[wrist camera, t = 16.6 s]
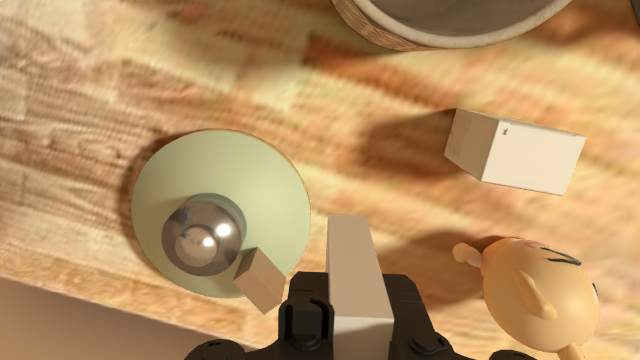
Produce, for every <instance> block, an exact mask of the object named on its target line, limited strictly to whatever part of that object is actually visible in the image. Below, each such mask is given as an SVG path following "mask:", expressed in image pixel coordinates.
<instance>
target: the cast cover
mask: <svg viewBox="0 0 640 360" xmlns="http://www.w3.org/2000/svg"><path fill="white" fill-rule="evenodd" d="M246 233H247V223H246V219H245V216H244V214H243V212H242V211H241V209H240V208H239V207H238V205H237V204H236V203H234V202H233V201H232V200H231V199H229V198H227V197H225V196H223V195H220V194H216V193H200V194H197V195H194V196H192V197H190V198H189V199H187V200H186V201H185V202H184V203H183V204H182V205H181V206H180V207H179V208H178V209H177V210H176V211H174V212H173V213H172V214H171V215H170V216H169V218H168V219H167V220H166V222H165V224H164V226H163V229H162V234H161V242H162V247H163V250H164V252H165V254H166V256H167V257H168V259H169V260H170V261H171V262H172V263H173V264H174V265H175V266H176V267H177V268H178V269H180V270H182V271H183V272H186V273H188V274H191V275H194V276H201V277H207V276H213V275H217V274H219V273H222V272H223V271H225V270H226V269H228V268H229V267H230V266H231V265H232V264H233V262H234V261H235V259H236V257H237V255H238V253H239V251H240V249H241V247H242V244H243V242H244V240H245V237H246Z"/></svg>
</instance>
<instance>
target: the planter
mask: <svg viewBox="0 0 640 360" xmlns="http://www.w3.org/2000/svg"><path fill="white" fill-rule="evenodd" d="M571 1H572V0H331V2H332V4H333V6H334V8H335V9H336V11H337V12H338V14H339V15H340V16H341V18H342V19H343V20H344V21H345V22H346V23H347V24H348V25H349V26H350V27H351V28H352V29H353V30H354V31H355V32H357V33H358V34H359V35H361V36H362V37H363V38H365V39H367V40H369V41H370V42H373V43H375V44H377V45H379V46H382V47H385V48H389V49H393V50H399V51H428V50H448V49H467V48H477V47H483V46H488V45H493V44H496V43H500V42H503V41H506V40H509V39H511V38H514V37H517V36H519V35H521V34H523V33H525V32H527V31H529V30H531V29H533V28H535V27H537V26H538V25H540V24H542V23H543V22H545V21H546V20H548V19H549V18H551V17H552V16H553V15H555V14H556V13H557V12H559V11H560V10H561V9H563V8H564V7H565V6H566V5H567V4H568V3H569V2H571Z"/></svg>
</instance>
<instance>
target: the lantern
mask: <svg viewBox="0 0 640 360" xmlns="http://www.w3.org/2000/svg"><path fill="white" fill-rule="evenodd" d="M631 2H632V5H633V8H634V11H635V14H636V17H637V20H638V22H639V25H640V0H631Z"/></svg>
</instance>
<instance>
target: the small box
mask: <svg viewBox="0 0 640 360" xmlns="http://www.w3.org/2000/svg"><path fill="white" fill-rule="evenodd" d="M585 140H586V136H583V135H579V134H575V133H571V132H567V131H564V130H560V129H556V128H552V127H548V126H544V125H540V124H536V123H532V122H528V121H524V120H518V119H513V118H508V117H502V116H497V115H491V114H486V113H481V112H476V111H470V110H465V109H460V108H457V109H456V113H455V117H454V120H453V124H452V127H451V131H450V134H449V138H448V141H447V145H446V148H445V152H444V156H445V157H446V158H448V159H449V160H450V161H452V162H453V163H455V164H456V165H458V166H459V167H460V168H462V169H463V170H465V171H466V172H468V173H469V174H470V175H472V176H473V177H475V178H476V179H478V180H479V181H480V182H486V183H491V184H497V185H503V186H508V187H514V188H520V189H525V190H531V191H537V192H542V193H548V194H554V195H559V196H563V195H564V193H565V190H566V188H567V186H568V183H569V181H570V178H571V175H572V173H573V170H574V168H575V165H576V163H577V160H578V158H579V155H580V153H581V150H582V148H583V145H584V143H585Z"/></svg>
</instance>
